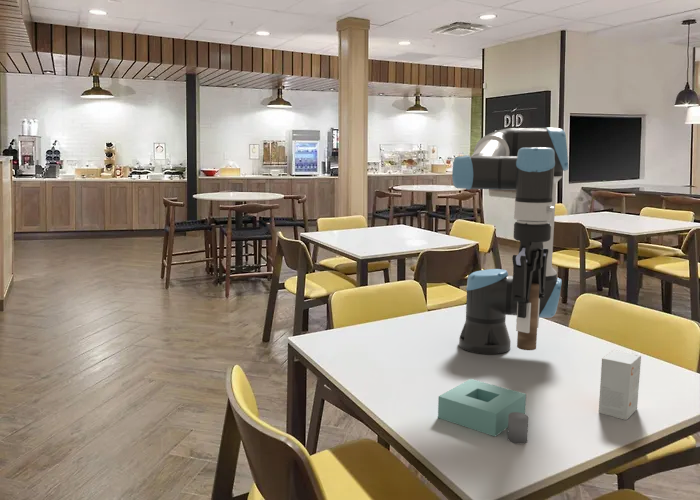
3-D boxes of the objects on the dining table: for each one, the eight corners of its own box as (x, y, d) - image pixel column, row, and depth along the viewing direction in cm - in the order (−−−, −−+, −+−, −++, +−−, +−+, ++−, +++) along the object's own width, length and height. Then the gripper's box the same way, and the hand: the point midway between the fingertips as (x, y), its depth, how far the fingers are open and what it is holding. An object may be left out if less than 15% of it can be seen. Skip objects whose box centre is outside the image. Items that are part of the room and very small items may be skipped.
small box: (609, 402, 147) (613, 349, 145) (637, 409, 143) (642, 354, 141) (597, 413, 141) (601, 357, 139) (626, 420, 137) (631, 364, 135)
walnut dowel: (514, 347, 135) (516, 284, 133) (521, 343, 138) (524, 281, 136) (531, 351, 133) (534, 287, 131) (539, 346, 136) (542, 284, 134)
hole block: (438, 417, 139) (438, 396, 138) (470, 398, 149) (470, 378, 148) (495, 436, 130) (496, 413, 129) (525, 415, 140) (526, 393, 139)
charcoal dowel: (503, 439, 128) (504, 416, 127) (512, 433, 131) (513, 410, 130) (522, 445, 126) (523, 422, 125) (530, 438, 129) (532, 415, 128)
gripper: (533, 227, 122) (527, 342, 126) (565, 219, 135) (559, 323, 139) (497, 224, 127) (493, 334, 131) (532, 217, 140) (527, 318, 144)
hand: (527, 328), depth 135 cm, fingers closed on walnut dowel, 4 cm apart
